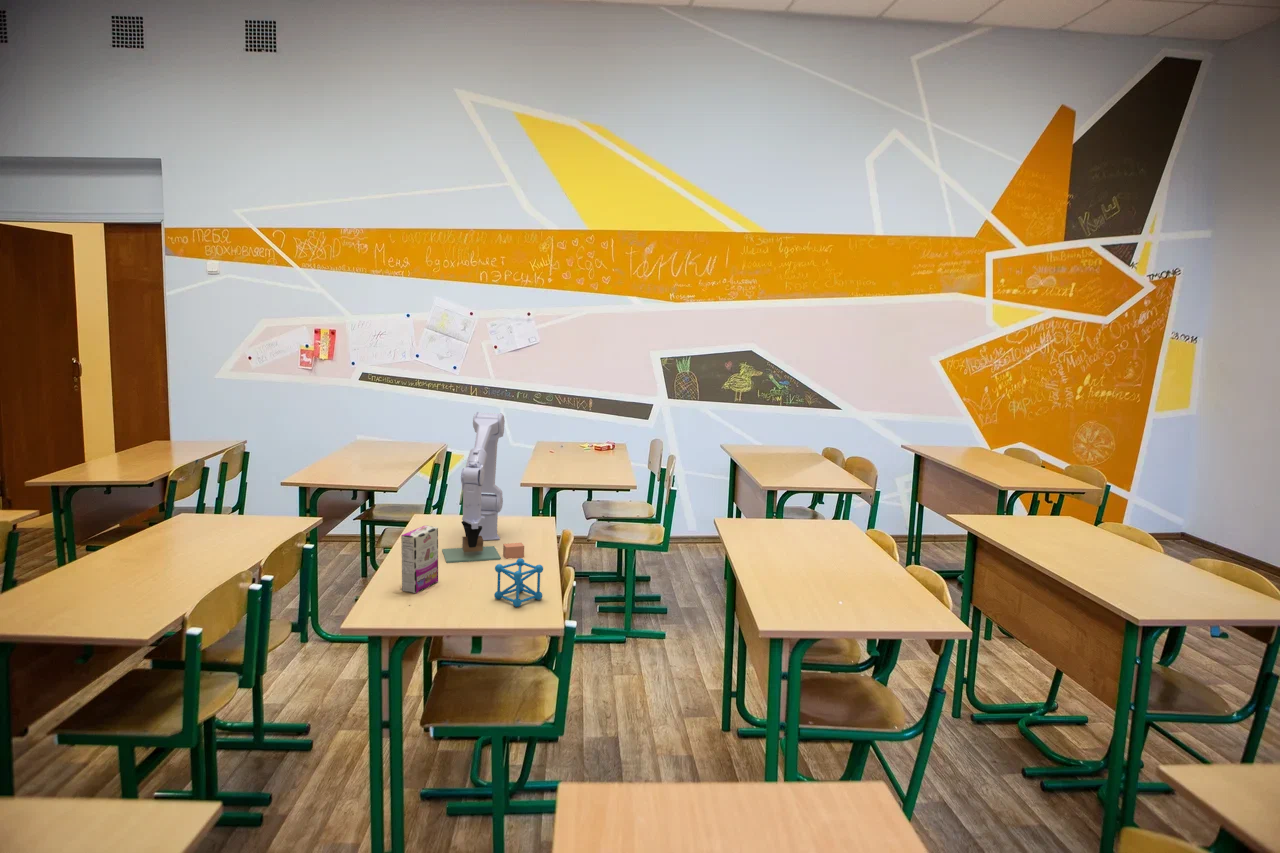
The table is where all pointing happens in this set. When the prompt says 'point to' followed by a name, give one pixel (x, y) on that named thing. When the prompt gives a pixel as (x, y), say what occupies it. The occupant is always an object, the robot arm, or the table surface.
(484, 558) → the baseplate
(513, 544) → the terracotta brick
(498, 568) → the molecular structure
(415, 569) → the candy bar box
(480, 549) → the walnut brick
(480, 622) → the table surface
